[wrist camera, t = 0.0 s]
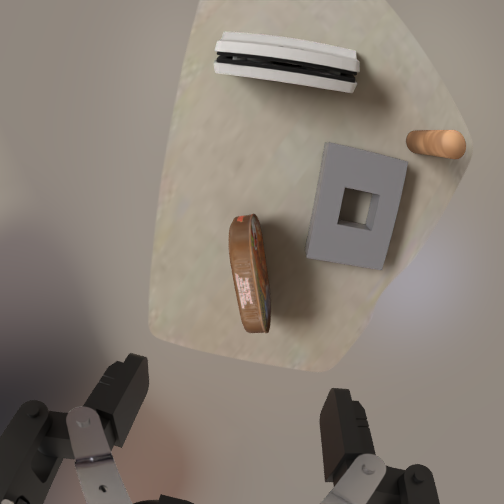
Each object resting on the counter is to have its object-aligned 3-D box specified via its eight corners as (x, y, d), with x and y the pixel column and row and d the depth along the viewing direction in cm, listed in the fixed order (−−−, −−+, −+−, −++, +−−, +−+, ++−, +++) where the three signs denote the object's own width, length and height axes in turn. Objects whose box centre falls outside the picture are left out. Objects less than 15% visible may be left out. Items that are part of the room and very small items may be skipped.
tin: (272, 311, 44) (271, 346, 37) (250, 313, 45) (245, 348, 37) (258, 206, 40) (253, 223, 32) (233, 209, 40) (222, 227, 32)
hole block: (325, 142, 36) (329, 142, 33) (399, 160, 36) (408, 161, 33) (304, 249, 41) (306, 257, 38) (375, 261, 41) (381, 270, 38)
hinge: (356, 50, 32) (376, 56, 24) (350, 84, 35) (367, 99, 27) (223, 31, 32) (202, 30, 24) (220, 64, 35) (199, 74, 27)
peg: (408, 127, 34) (445, 126, 25) (427, 134, 34) (467, 135, 25) (404, 149, 35) (440, 154, 26) (423, 155, 35) (463, 162, 26)
